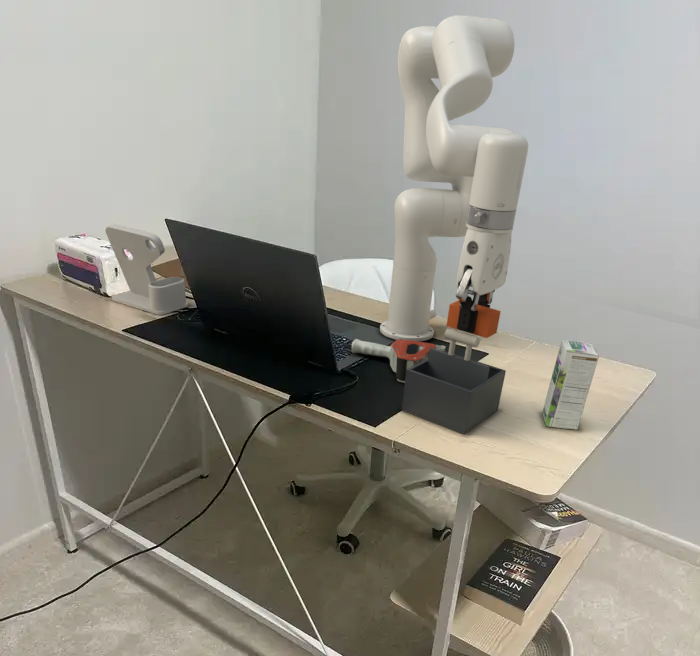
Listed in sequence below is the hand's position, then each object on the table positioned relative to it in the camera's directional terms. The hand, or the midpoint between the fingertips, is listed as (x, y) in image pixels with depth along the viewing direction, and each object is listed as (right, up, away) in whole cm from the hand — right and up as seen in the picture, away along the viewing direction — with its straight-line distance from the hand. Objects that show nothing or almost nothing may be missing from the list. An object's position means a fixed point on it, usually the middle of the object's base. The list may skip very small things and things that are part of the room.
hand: (471, 327), depth 116 cm
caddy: (-3, -14, +5) cm, 15 cm away
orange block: (0, 0, 0) cm, 0 cm away
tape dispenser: (-11, -4, +22) cm, 25 cm away
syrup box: (+17, -16, +5) cm, 24 cm away
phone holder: (-70, +15, +45) cm, 84 cm away
